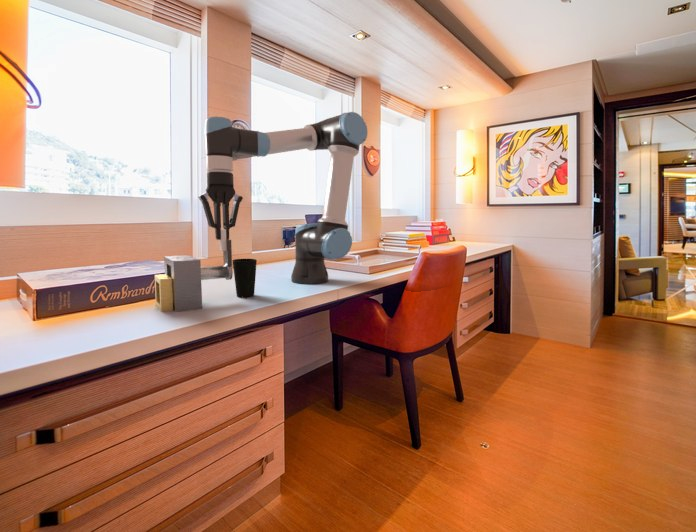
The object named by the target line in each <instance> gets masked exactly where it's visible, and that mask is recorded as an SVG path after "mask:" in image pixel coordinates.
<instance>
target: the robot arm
mask: <svg viewBox="0 0 696 532" xmlns="http://www.w3.org/2000/svg"><path fill="white" fill-rule="evenodd" d="M204 122H205V123H204V135H205V136H204V137H205V138H204V139H205V152H206V153H205V154H206V155H205V157H206V159H205V160H206V170H207V173H206V180H207V181H206V184H207V186H206V189H205V192H204V193H202V194H199V195H198V199H199V200H200V202H201V204H202V207H203V211H204V214H205V217H206V220H207V224H208V226H209V227H210V228H213V229H214V231H215V232H214V233H215V239H216V240H217V241H218V248H219V249H218V250H219V251H222V252H223V251H227V243H226V239H229V240H230V229H231V228H235V227H236V223H237V218H238V213H239V208H240V205H241V202H242V201H243V199H244V198H243V196H242V195H238V194H237V193H236V190H235V188H234V185H235V183H234V174H233V173H232V172H234V164H233V163H234V162H233V161H235V162H236V161H237V160H242V159H248V158H254V157H258V158H259V157H262V158H263V157H266V156H268V155H274V154H279V153H280V154H281V153H286V152H288V153H289V152H292V151H293V152H294V151H299V150H305V149H307V150H308V151H312V152H313V151H320V150H323V151H324V150H328V151H329V153H330V162H329V166H328V173H327V180H326V187H325V188H326V189H325V196H324V203H323V210H322V216H321V218H319V219H317V223H304V224H298V225H297V226H296V227H295V232H294V237H295V239H294V240H295V241H294V242H295V246H294V247H295V248H294V249H295V264H294V266H293V270H292V273H291V278H290V279H291V282H292V283H294V284H305V285H306V284H307V285H309V284H310V285H311V284H312V285H315V284H317V285H318V284H324V283H327V282H329V273H328V270H327V267H326V263H325V259H326V260H340V259H342V258H344V257H345V256H346V255H348V254H349V252H350V250H351V249H352V246H353V245H352V244H353V237H352V235H351V232H350V231H349V230H348V229H349V224H348V223H347V221H346V217H347V216H346V214H347V208H348V207H347V206H348V200H349V193H350V188H351V187H350V186H351V178H352V172H353V164H354V158H355V157H356V156H357V155H358V154H359V152H360V145H362V144H363V143H364V142H365V141H366V140H367V137H368V126H367V123H366V122H365V119H364V117H362V115H360V114H359V113H357V112H354V111H349V112H343V113H341V114H339V115H335V116H332V117H329V118H326V119H323V120H321V121H318V122H316V123H312V124H311V123H310V124H306V125H304V127H301V128H294V129H292V128H291V129H287V130H284V129H283V130H278V131H270V132H269V131H268V132H262V131H259V130H250V129H243V128H238V127H234V126H233V124H232V120H231V119H230V118H227V117H225V116H223V117H222V116H209V117H207V118H206V119H205V121H204ZM209 199H210V200H211V202H213V205H212V206H213V213H214V214H213V213H212V210H211V206H210V203H209ZM231 200H233V203H232V207H231V212H230V202H231ZM221 208H222V215H221ZM213 216H214V217H213ZM221 218H222V220H221ZM222 227H223V228H222Z"/></svg>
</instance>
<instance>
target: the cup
mask: <svg viewBox="0 0 696 532" xmlns="http://www.w3.org/2000/svg"><path fill="white" fill-rule="evenodd" d="M257 263H258V262H257V259H256V258H236V259H232V270H233V276H234V277H233V278H234V284H235V292H236V297H237V298H241V299H244V298H245V299H246V298H253V297H255V290H256V289H255V288H256V276H257V275H256V273H257Z"/></svg>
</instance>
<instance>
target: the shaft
mask: <svg viewBox="0 0 696 532" xmlns="http://www.w3.org/2000/svg"><path fill="white" fill-rule="evenodd" d="M226 243H227V251H222V254H223V265H210V266H209V265H207V266H201V281H208V280H218V279H225V281H227V280H229V281H231V280H232V279H233V276H234V270H233V261H232V260H233V257H232V256H233V254H232V253H233V252H232V250H233V249H232V239H230V238H229V239H226Z"/></svg>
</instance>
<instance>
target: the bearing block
mask: <svg viewBox="0 0 696 532" xmlns="http://www.w3.org/2000/svg"><path fill="white" fill-rule="evenodd" d="M163 263H164V267H163V268H164V274H166V275H168V276H169V277H171V278H172V292H173V310H174V311H175V313H177V312H183V311H191V310H193V311H194V310H198V309H203V292H202V290H203V289H202V280H201V267H202V266H201V259H199V258H196V257H194V256H192V255H189V254H188V255H187V254H183V255H164V256H163Z"/></svg>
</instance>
